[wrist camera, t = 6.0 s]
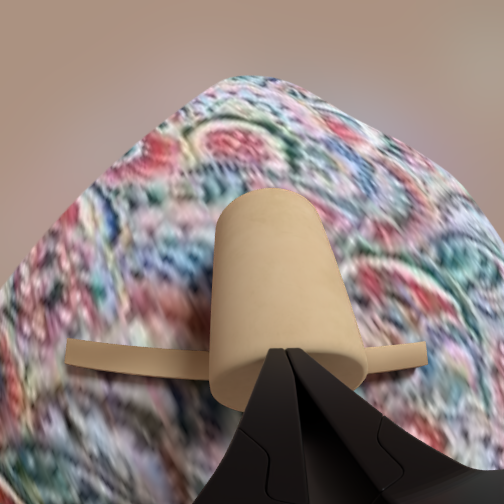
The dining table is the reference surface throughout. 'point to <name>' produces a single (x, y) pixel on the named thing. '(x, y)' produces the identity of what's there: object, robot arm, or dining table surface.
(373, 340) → the dining table surface
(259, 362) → the candle
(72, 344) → the oak strip
